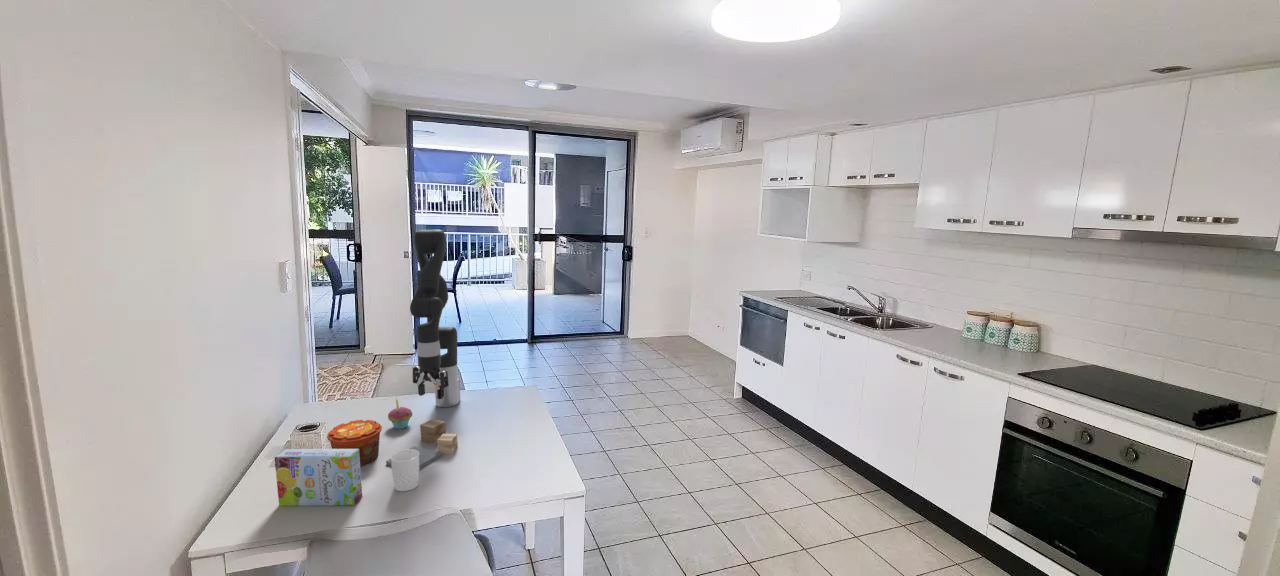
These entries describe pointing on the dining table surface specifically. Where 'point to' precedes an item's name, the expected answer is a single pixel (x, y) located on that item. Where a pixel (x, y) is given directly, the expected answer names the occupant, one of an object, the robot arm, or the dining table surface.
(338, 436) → the food container
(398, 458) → the white cup
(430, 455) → the slate coaster
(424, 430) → the walnut block
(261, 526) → the dining table surface
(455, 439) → the oak block
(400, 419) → the cupcake
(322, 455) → the snack box
